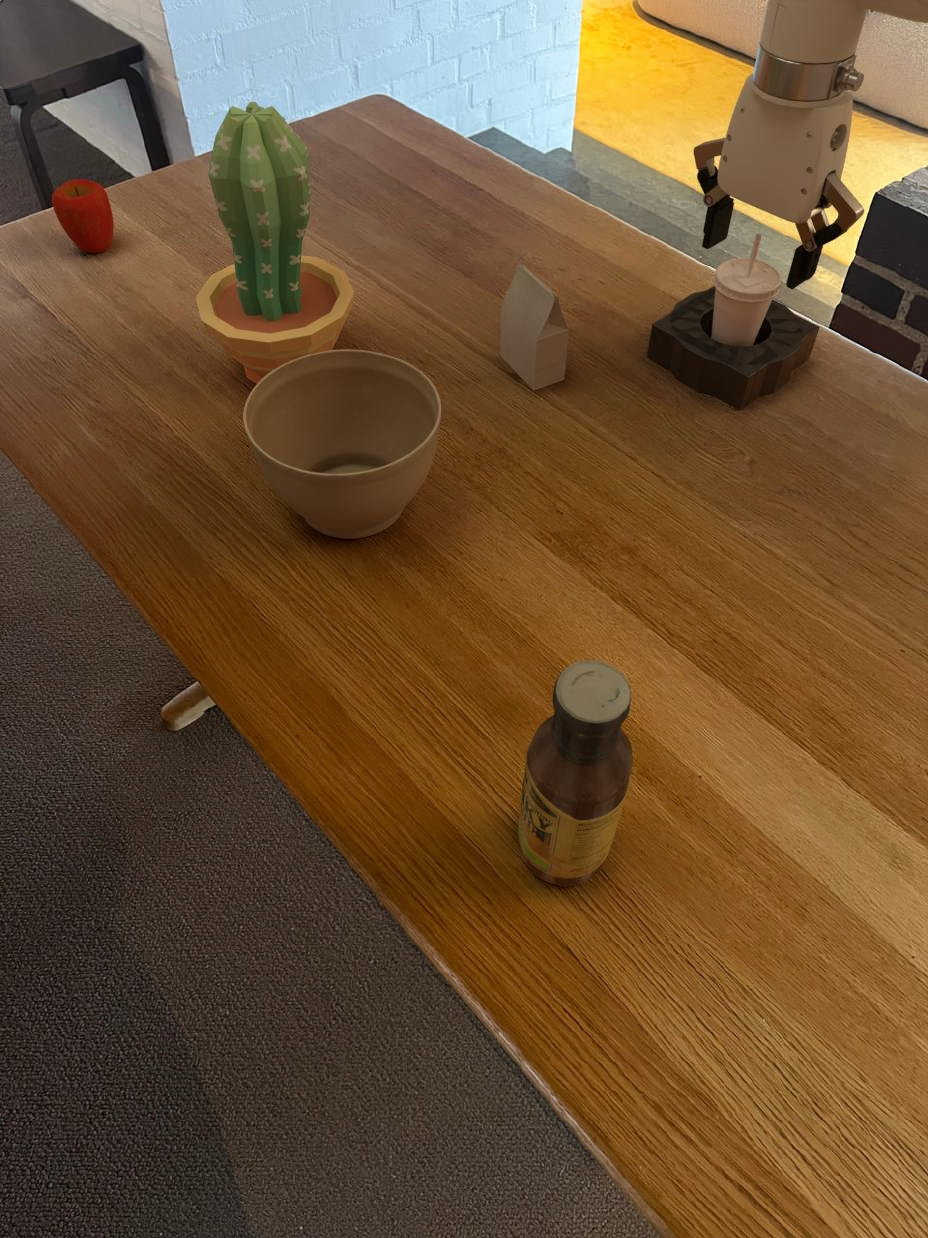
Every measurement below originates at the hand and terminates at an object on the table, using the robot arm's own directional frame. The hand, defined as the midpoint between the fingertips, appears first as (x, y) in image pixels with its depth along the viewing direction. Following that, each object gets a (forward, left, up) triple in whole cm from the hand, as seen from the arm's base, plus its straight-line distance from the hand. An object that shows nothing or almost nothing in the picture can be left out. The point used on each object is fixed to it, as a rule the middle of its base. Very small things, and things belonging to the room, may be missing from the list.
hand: (754, 262), depth 92 cm
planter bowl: (+42, -10, -11) cm, 45 cm away
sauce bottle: (+53, +26, -11) cm, 60 cm away
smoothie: (0, 0, -11) cm, 11 cm away
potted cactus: (+34, -31, -11) cm, 48 cm away
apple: (+37, -65, -11) cm, 76 cm away
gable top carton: (+16, -13, -11) cm, 24 cm away
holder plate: (0, 0, -11) cm, 11 cm away
